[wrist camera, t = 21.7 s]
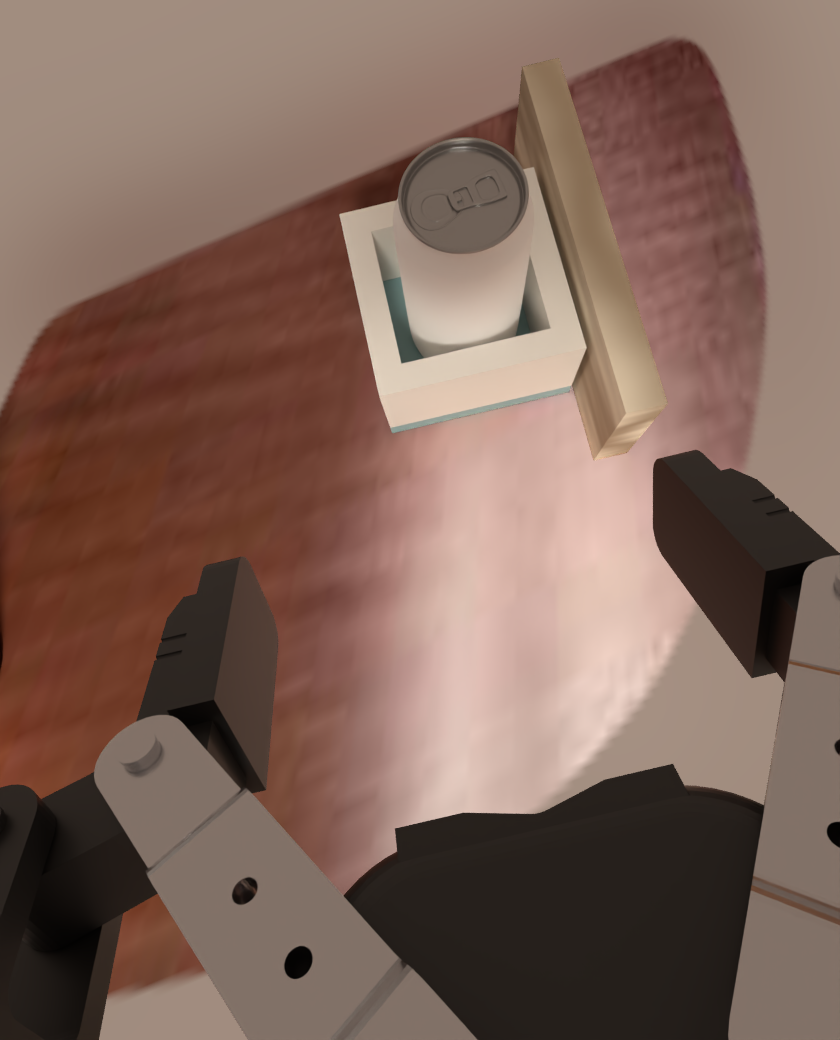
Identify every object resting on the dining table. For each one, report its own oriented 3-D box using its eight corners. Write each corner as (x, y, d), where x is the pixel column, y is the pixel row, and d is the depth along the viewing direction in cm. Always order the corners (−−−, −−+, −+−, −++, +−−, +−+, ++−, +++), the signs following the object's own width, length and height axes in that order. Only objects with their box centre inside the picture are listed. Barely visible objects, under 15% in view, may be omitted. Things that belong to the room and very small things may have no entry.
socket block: (392, 433, 40) (379, 396, 34) (357, 274, 42) (339, 214, 36) (568, 392, 39) (586, 347, 34) (524, 234, 42) (533, 166, 36)
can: (395, 301, 40) (367, 159, 28) (493, 264, 40) (504, 107, 28) (433, 393, 39) (419, 284, 27) (533, 354, 39) (563, 228, 27)
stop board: (593, 460, 38) (626, 413, 31) (512, 173, 42) (522, 66, 35) (626, 452, 38) (667, 403, 31) (541, 166, 42) (559, 57, 35)
